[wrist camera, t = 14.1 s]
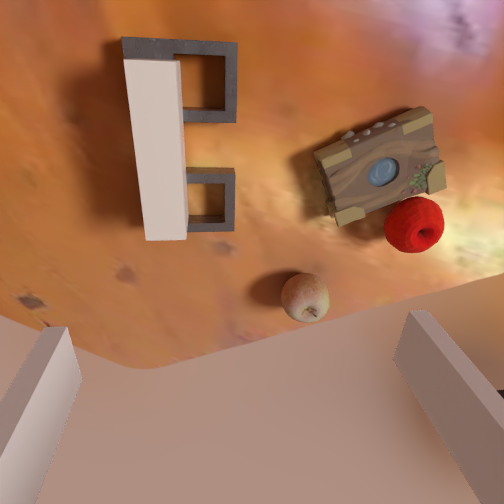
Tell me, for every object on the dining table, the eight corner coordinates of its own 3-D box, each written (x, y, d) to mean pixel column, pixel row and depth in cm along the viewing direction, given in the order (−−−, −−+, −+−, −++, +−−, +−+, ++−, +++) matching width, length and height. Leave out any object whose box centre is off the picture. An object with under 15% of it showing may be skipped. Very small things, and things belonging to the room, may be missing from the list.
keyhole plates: (126, 37, 37) (121, 36, 35) (235, 43, 38) (237, 42, 36) (148, 224, 48) (145, 232, 46) (232, 223, 49) (234, 231, 47)
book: (329, 216, 51) (341, 231, 47) (307, 145, 45) (318, 155, 41) (425, 176, 50) (446, 188, 45) (415, 99, 44) (438, 104, 40)
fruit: (329, 269, 55) (347, 300, 48) (313, 305, 59) (327, 339, 52) (285, 261, 53) (296, 291, 47) (270, 298, 57) (279, 332, 50)
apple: (390, 182, 49) (418, 201, 43) (436, 195, 51) (469, 216, 44) (365, 231, 52) (387, 255, 46) (409, 242, 54) (436, 267, 48)
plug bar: (139, 58, 38) (123, 59, 30) (181, 60, 38) (175, 61, 31) (155, 211, 47) (145, 240, 39) (189, 210, 47) (186, 239, 40)
